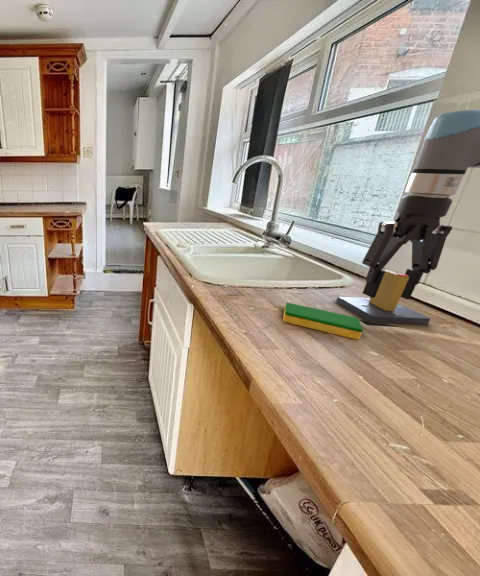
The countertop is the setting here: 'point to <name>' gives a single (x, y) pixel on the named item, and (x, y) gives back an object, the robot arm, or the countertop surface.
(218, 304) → the countertop surface
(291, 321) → the dish sponge
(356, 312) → the plate
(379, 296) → the lock knob
